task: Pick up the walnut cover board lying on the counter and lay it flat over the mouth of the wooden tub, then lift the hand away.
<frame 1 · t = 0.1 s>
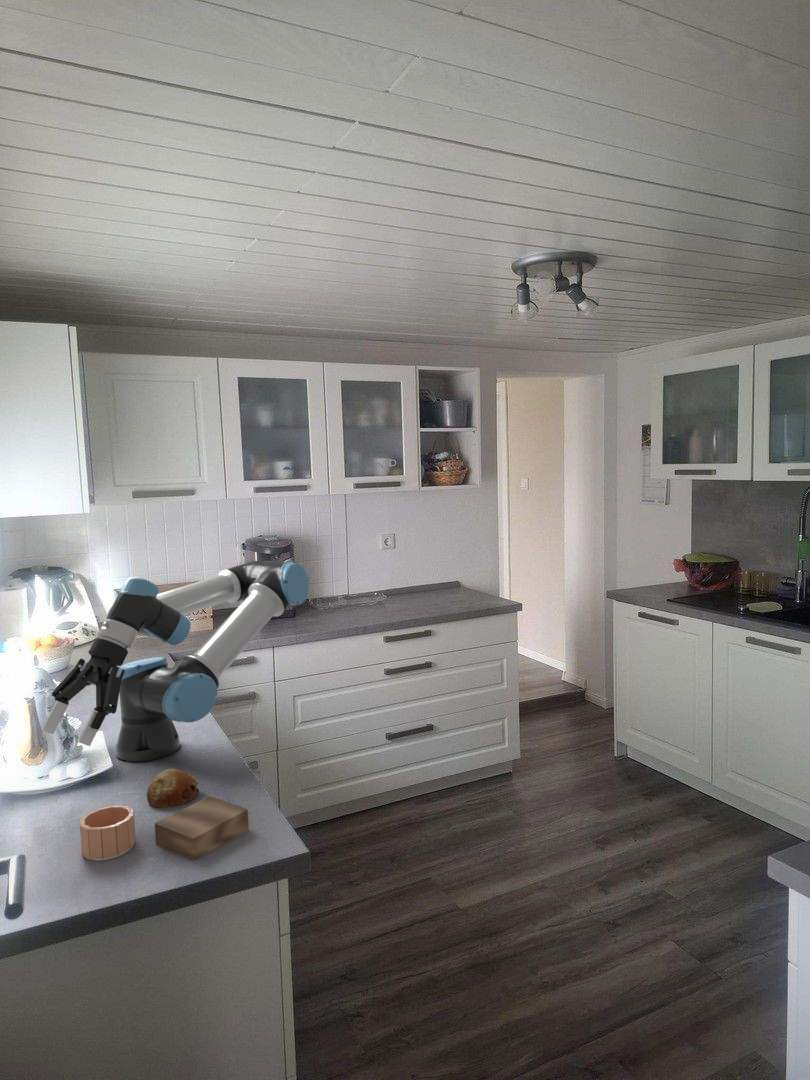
hand: (64, 738, 148), 15 cm above the worktop, tool tilted 35°, fingers open, 13 cm apart
bread roll: (174, 799, 153), on the worktop
wooden tub: (109, 847, 133), on the worktop
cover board: (203, 838, 136), on the worktop
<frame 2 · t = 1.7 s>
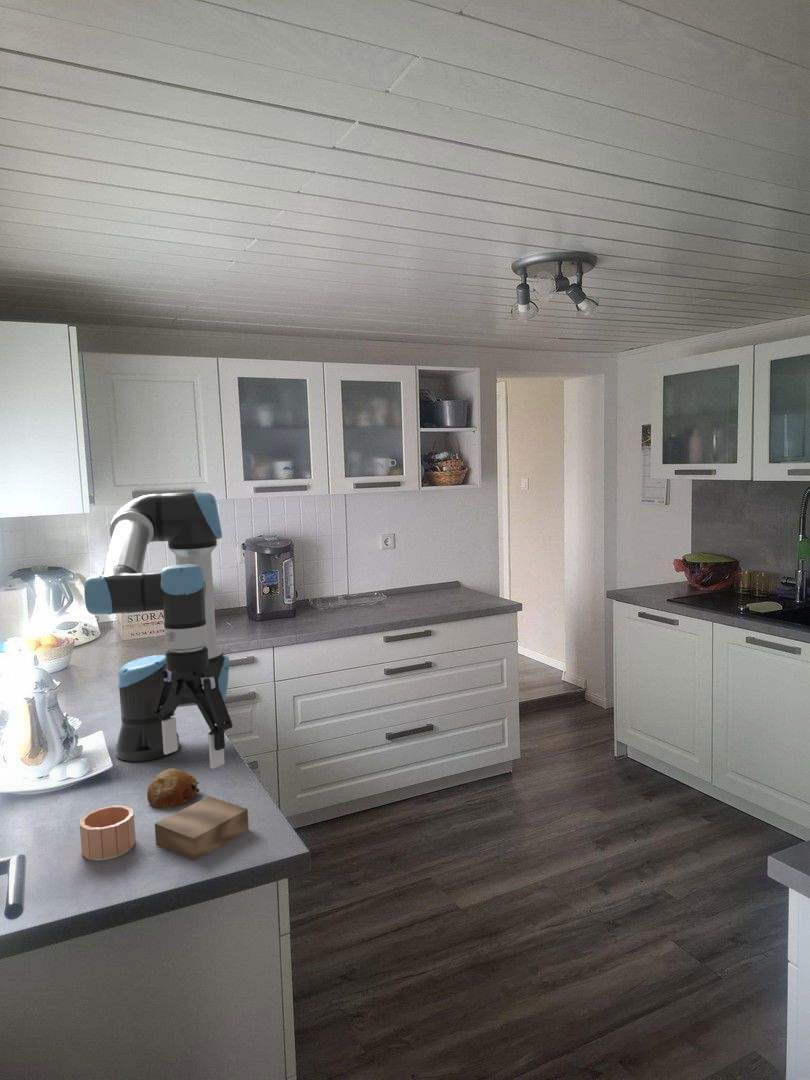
hand: (193, 759, 134), 15 cm above the worktop, tool pointing down, fingers open, 13 cm apart
nothing on the worktop moved.
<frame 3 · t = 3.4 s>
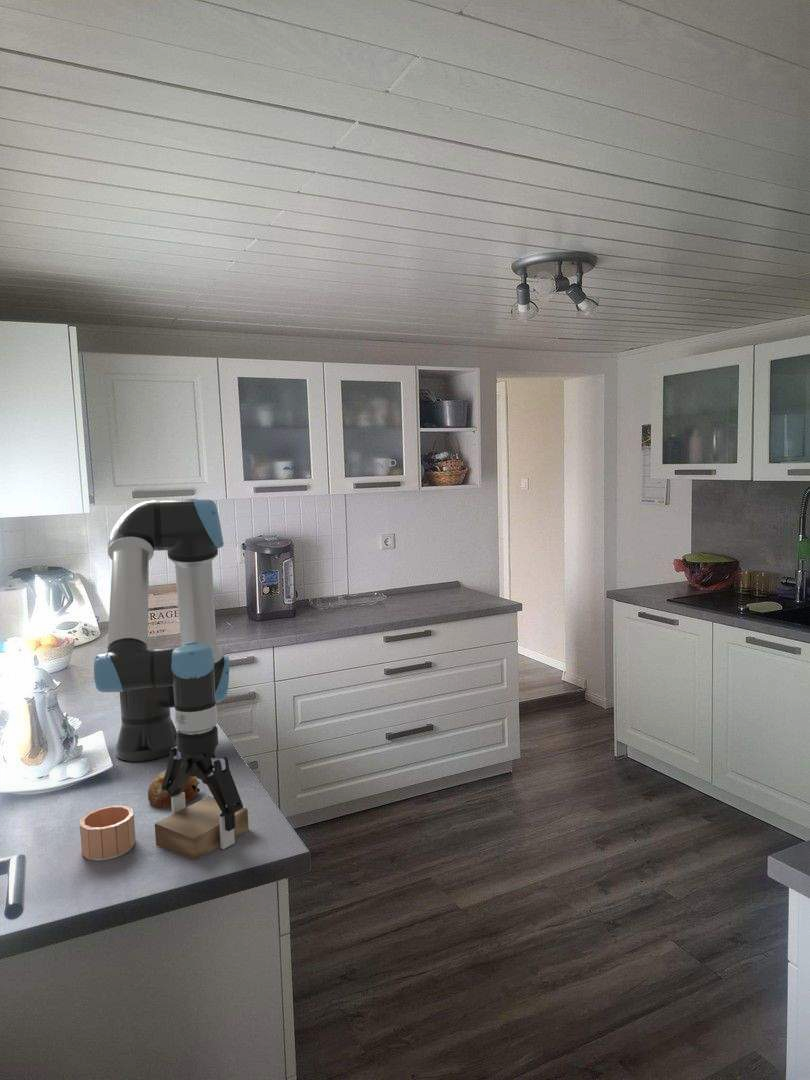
hand: (203, 836, 136), 0 cm above the worktop, tool pointing down, fingers open, 13 cm apart
nothing on the worktop moved.
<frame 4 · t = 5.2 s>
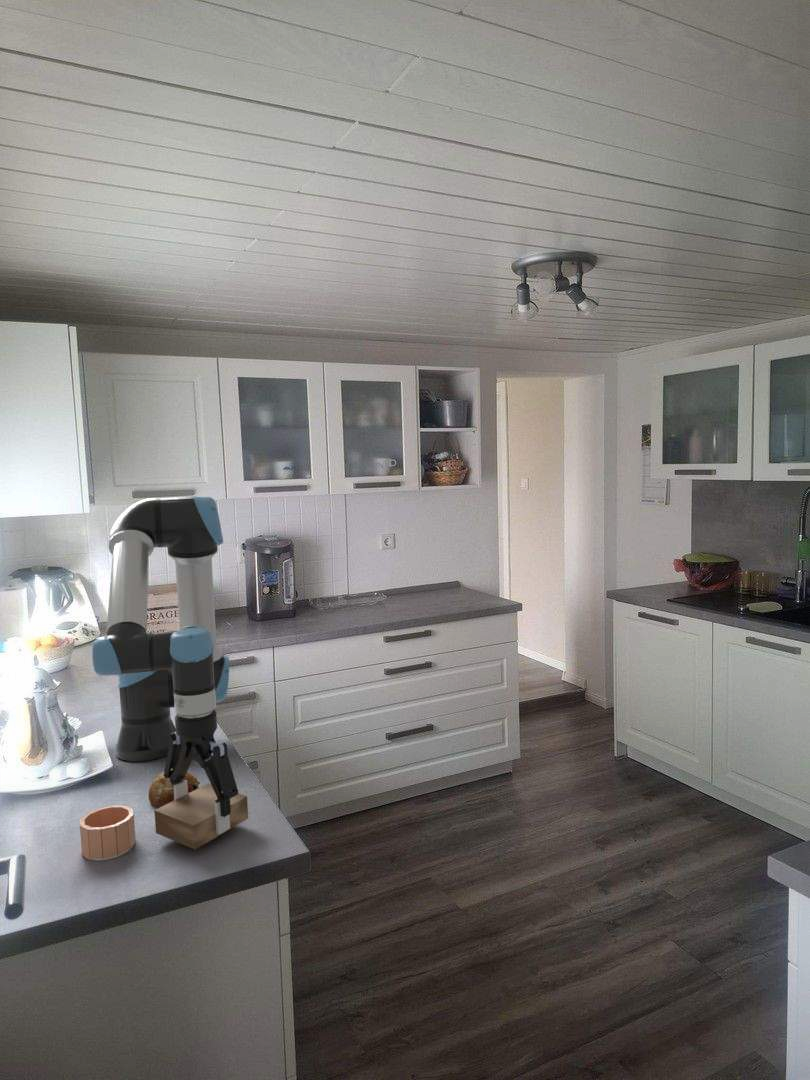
hand: (202, 822, 136), 3 cm above the worktop, tool pointing down, fingers closed on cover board, 11 cm apart
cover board: (202, 825, 136), point 2 cm above the worktop, touching gripper
everything else where it was.
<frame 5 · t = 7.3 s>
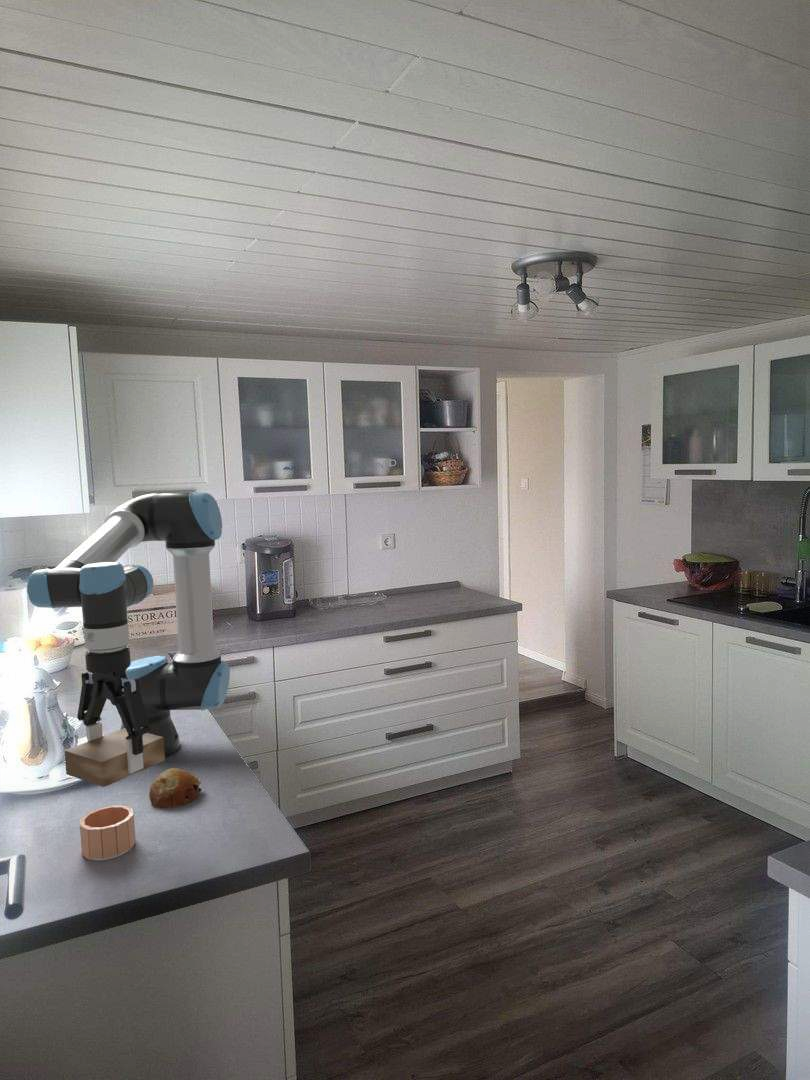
hand: (115, 764, 132), 16 cm above the worktop, tool pointing down, fingers closed on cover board, 11 cm apart
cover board: (116, 767, 132), point 15 cm above the worktop, touching gripper
everything else where it was.
when the fingers open (6 cm above the worktop, at t = 9.5 s): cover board stays where it is, resting on wooden tub.
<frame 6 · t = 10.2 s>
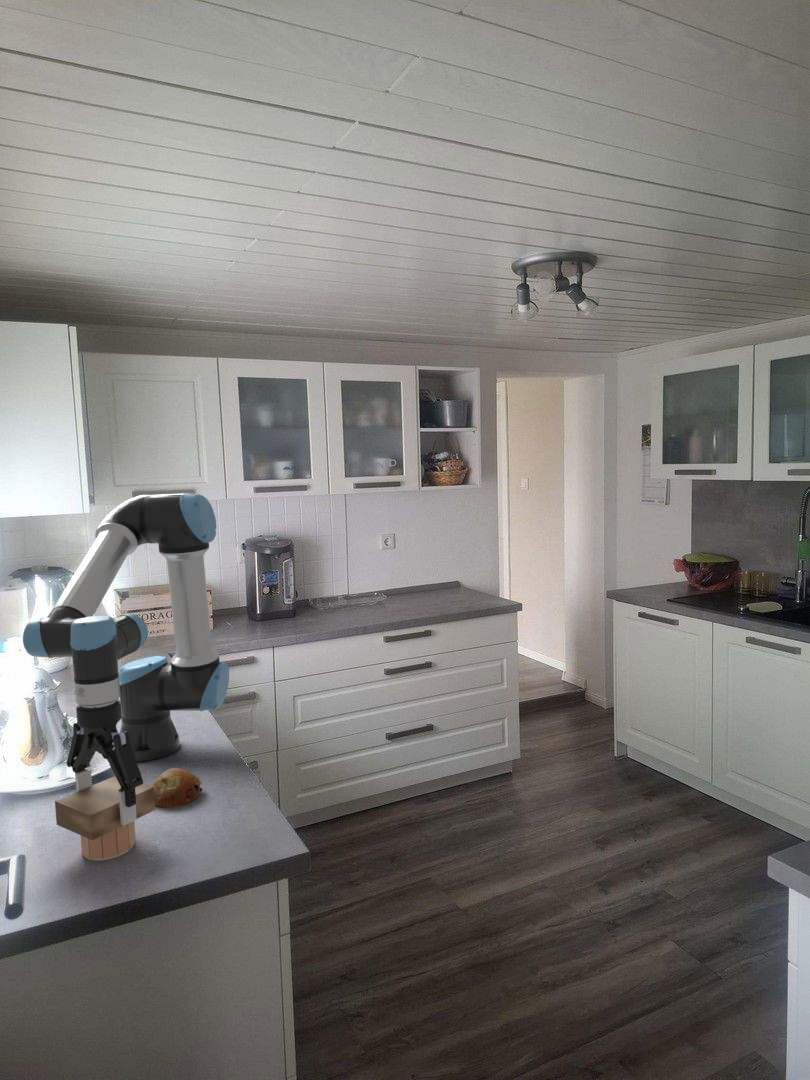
hand: (106, 813, 132), 7 cm above the worktop, tool pointing down, fingers open, 13 cm apart
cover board: (106, 817, 132), point 6 cm above the worktop, touching wooden tub
everything else where it was.
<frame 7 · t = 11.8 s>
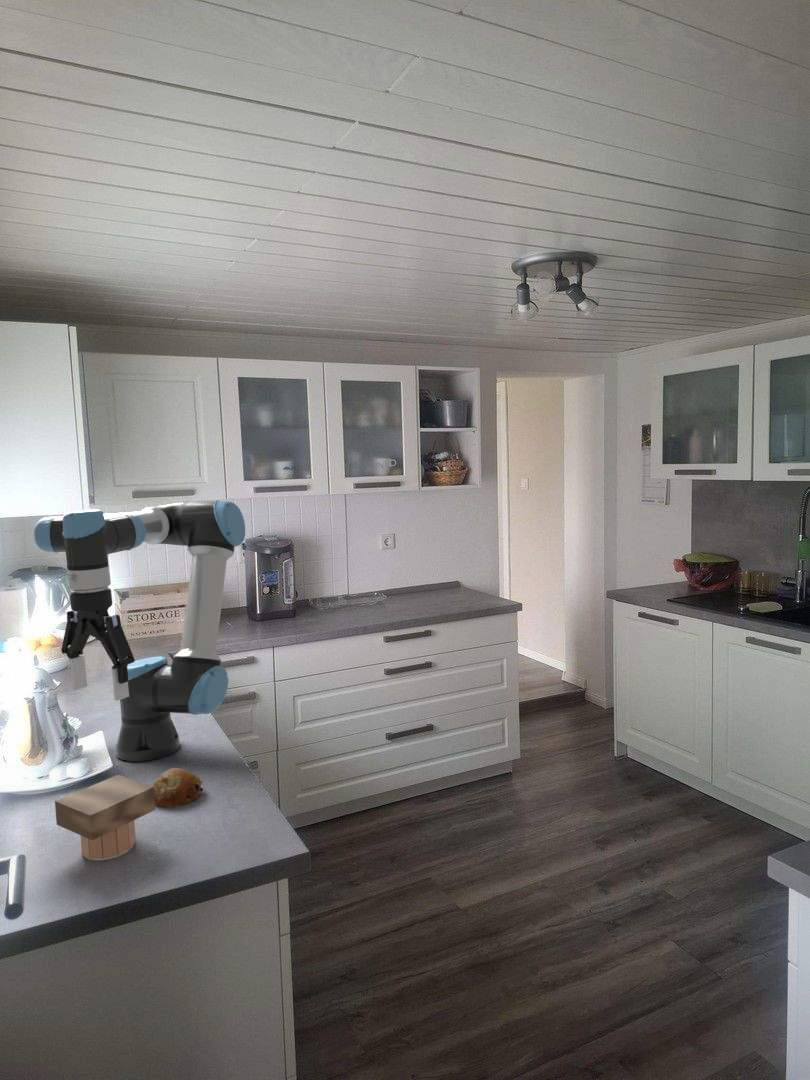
hand: (100, 693, 143), 26 cm above the worktop, tool pointing down, fingers open, 13 cm apart
nothing on the worktop moved.
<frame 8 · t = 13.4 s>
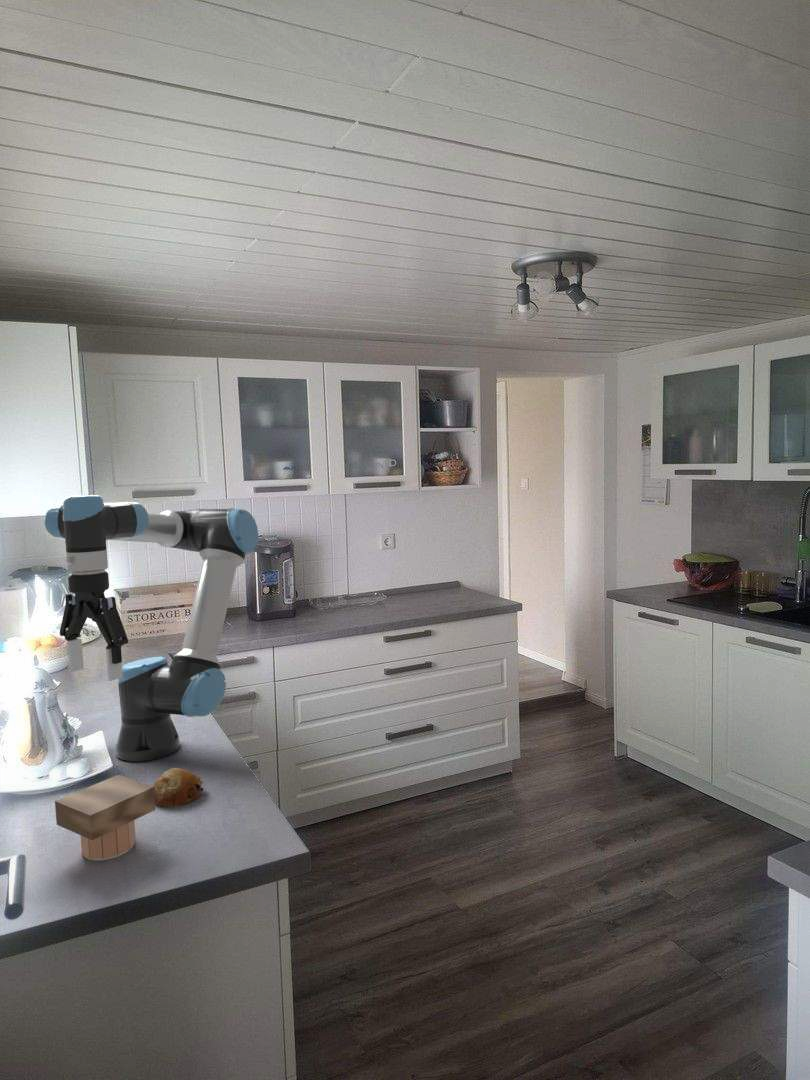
hand: (95, 674, 146), 29 cm above the worktop, tool pointing down, fingers open, 13 cm apart
nothing on the worktop moved.
at the end: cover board 0.0 cm off-centre on the wooden tub, point 6.0 cm above the wooden tub's base; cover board tilted 0°; the gripper is holding nothing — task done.
